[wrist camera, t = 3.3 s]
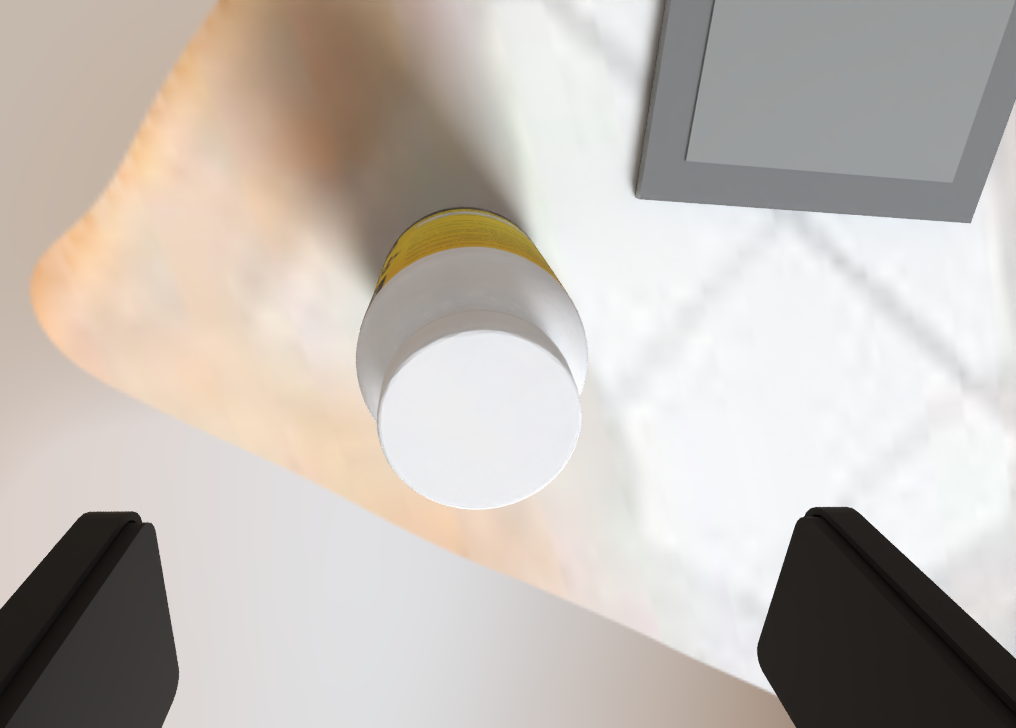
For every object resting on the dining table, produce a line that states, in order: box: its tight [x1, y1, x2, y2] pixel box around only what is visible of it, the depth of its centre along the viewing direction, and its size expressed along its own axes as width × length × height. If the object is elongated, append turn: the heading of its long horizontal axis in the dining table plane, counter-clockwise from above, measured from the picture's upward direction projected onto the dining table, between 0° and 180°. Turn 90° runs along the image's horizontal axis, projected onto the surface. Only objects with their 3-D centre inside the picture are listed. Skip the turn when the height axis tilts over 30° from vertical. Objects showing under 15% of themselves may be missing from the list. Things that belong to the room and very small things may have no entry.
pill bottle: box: [356, 207, 588, 510], centre depth 19 cm, size 6×6×12 cm
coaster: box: [635, 0, 1016, 223], centre depth 21 cm, size 14×14×1 cm
